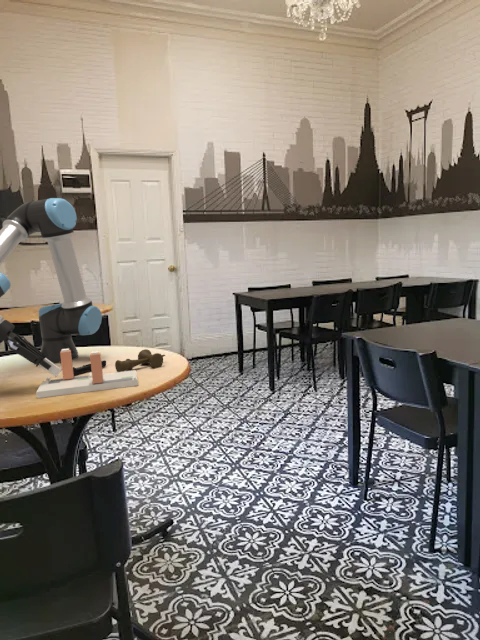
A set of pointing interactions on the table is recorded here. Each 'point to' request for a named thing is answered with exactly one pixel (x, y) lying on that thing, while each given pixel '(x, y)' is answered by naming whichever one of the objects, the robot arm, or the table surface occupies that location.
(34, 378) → the table surface
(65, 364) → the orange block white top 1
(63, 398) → the table surface
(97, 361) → the orange rectangular block
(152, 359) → the kendama
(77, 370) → the electric trimmer
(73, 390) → the white fixture board
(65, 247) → the robot arm
